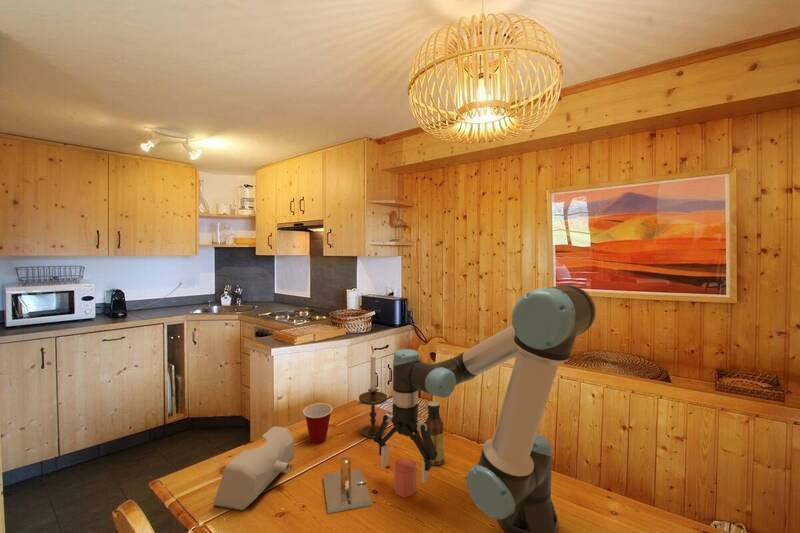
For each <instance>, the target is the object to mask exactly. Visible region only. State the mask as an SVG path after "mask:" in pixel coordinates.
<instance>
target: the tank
mask: <svg viewBox="0 0 800 533" xmlns="http://www.w3.org/2000/svg"><path fill="white" fill-rule="evenodd" d="M261 438H262V439H264V440H265V443H264V444H263V445H261V446H260V447H256V448H252V449H245V450H243V451H242V452H240V453H239V454H238V455H237V456H235V457H234V458H233V459H232V460H231V461H229V462H228V463H227V465H226V466H225V468H224V471H223V472H222V476H221V479H220V481H219V486H218V489H217V491H216V494H215V497H214V501H213V506H216V507H220V508H221V507H222V508H227V509H228V508H229V509H234V510H239V511H244V510H246V509H247V508H248V507H249V505H250V504H252V503H253V502H254V501H255V500H256V499H257V498H258V497H259V495H261V494H262V493H263V492H264V491H265V489H267V487H268V486H269V485H270V484H271V483H272V482H273V481H274V479H276V478H277V477H278V476H279V474H280V473H286V474H287V473H289V472H290V468H291V464H290V463H291V462H292V460H294V458H295V439H294V438H293V435H292V433H291V432H290V430H289V428H288V427H282V426H275V425H274V426H272V427H271V428H270V429H268V431H266V432H265V433H264V434H262V436H261Z"/></svg>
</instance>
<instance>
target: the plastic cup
mask: <svg viewBox="0 0 800 533" xmlns="http://www.w3.org/2000/svg"><path fill="white" fill-rule="evenodd" d="M332 412H333V407H332V405H330V404H329V403H324V402H323V403H322V402H317V403H312V404H310V405H308V406H306V407H305V408H303V411H302V414H303V416H304V417H305V421H306V427H307V432H308V437H309V441H310V443H312V444H314V445H317V444H318V445H319V444H322V443H325V441H326V439H327V436H328V430H329V426H330V425H329V424H330V418H331V414H332Z"/></svg>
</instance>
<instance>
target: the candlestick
mask: <svg viewBox="0 0 800 533" xmlns="http://www.w3.org/2000/svg"><path fill="white" fill-rule="evenodd" d="M370 347H371V351H372V353H371V355H370V388H368V389H367V392H363V393H360V395H358V396H359V397H358V401H359V402H360V403H361V404H363V405H367V406H371V409H370V410H371V411H370V413H369V414H368V415H369V416H370V420H369V422H370V424H371V425H367V426H364V427H363V428H362V429H361V431H360V432H361V436H362V437H363V438H365V439H369V440H374V438H375V436H376V434H377V432H378V430H379V428H380V426H381V425H380V426H379V425H376V421H377V419H376V417H377V414H378V413H377V412H376V411H375V409H376V406H377V405H382V404H384V403H386V402H387V400H388V395H387V394H386V393H384V392H381V391H379V388H376V355H375V353H374V351H375V349H374V347H373V345H372V344H370ZM385 431H386V430H385ZM385 431H384V433H383V435H382V437H384V436H385V435H386V434H385V433H386V432H385Z"/></svg>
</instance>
